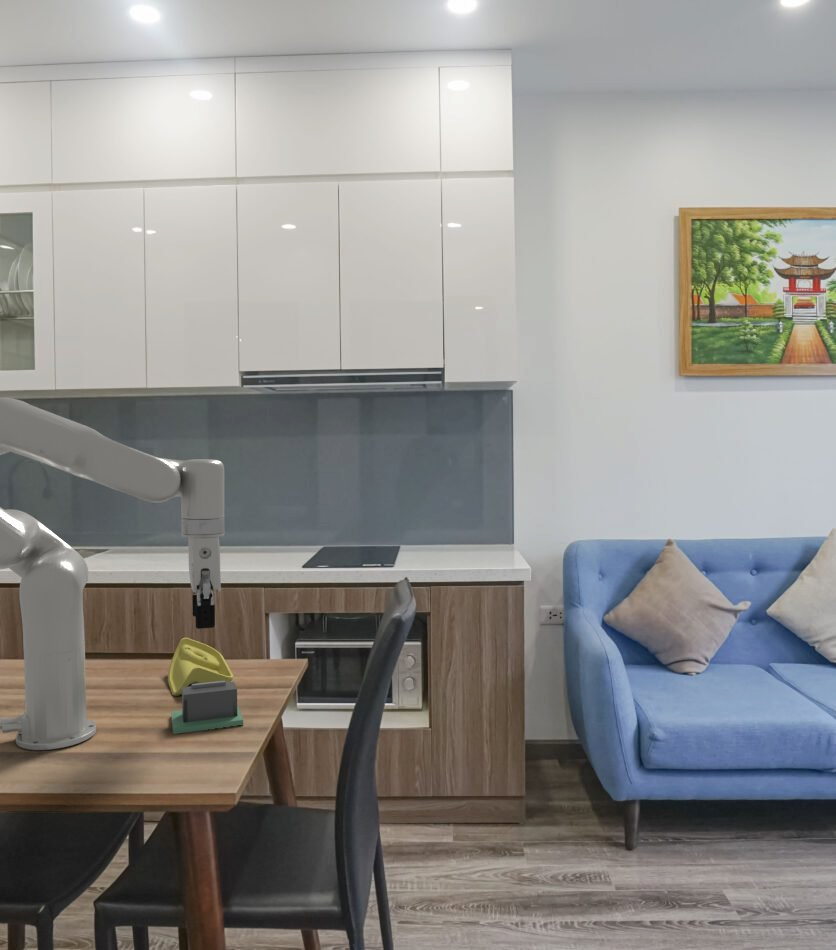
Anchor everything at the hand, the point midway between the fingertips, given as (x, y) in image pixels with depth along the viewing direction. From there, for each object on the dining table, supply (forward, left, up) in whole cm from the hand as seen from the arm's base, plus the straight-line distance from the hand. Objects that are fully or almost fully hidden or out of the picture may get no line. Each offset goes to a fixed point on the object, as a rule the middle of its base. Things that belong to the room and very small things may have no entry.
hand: (203, 621), depth 140 cm
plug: (+1, 0, -17) cm, 17 cm away
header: (0, 0, -18) cm, 18 cm away
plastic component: (+1, +25, -19) cm, 31 cm away
